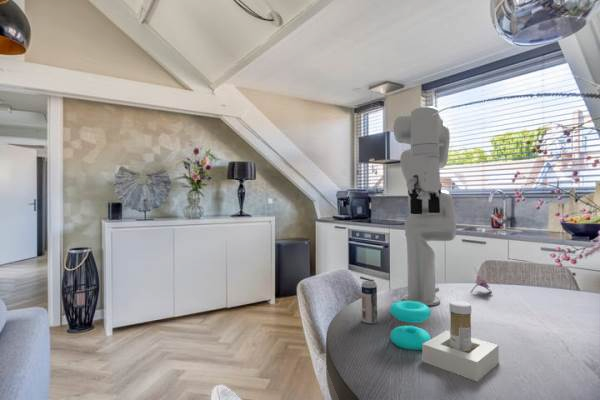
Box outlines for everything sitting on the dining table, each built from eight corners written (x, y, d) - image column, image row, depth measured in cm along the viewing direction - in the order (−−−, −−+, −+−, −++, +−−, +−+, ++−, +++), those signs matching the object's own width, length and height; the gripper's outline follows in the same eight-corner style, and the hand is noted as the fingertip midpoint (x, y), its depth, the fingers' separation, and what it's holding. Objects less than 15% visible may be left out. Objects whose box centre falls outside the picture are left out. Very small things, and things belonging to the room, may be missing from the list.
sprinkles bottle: (446, 356, 81) (446, 299, 81) (466, 356, 81) (465, 299, 81) (455, 366, 76) (454, 305, 76) (475, 366, 76) (475, 305, 76)
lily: (485, 302, 126) (498, 280, 126) (455, 284, 134) (468, 263, 134) (492, 304, 135) (505, 284, 134) (464, 288, 143) (475, 268, 143)
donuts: (438, 305, 87) (414, 313, 82) (439, 345, 87) (415, 355, 82) (406, 297, 96) (382, 303, 90) (406, 333, 96) (382, 342, 90)
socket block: (446, 346, 87) (446, 330, 87) (498, 362, 78) (498, 345, 78) (422, 361, 79) (422, 344, 79) (477, 381, 70) (477, 362, 70)
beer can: (377, 325, 102) (377, 284, 102) (361, 324, 103) (360, 284, 103) (377, 319, 106) (376, 280, 106) (361, 318, 107) (361, 280, 107)
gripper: (427, 156, 104) (428, 212, 104) (395, 151, 93) (396, 214, 93) (452, 153, 99) (452, 212, 99) (421, 147, 87) (422, 214, 87)
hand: (425, 213), depth 96 cm, fingers open, 9 cm apart
